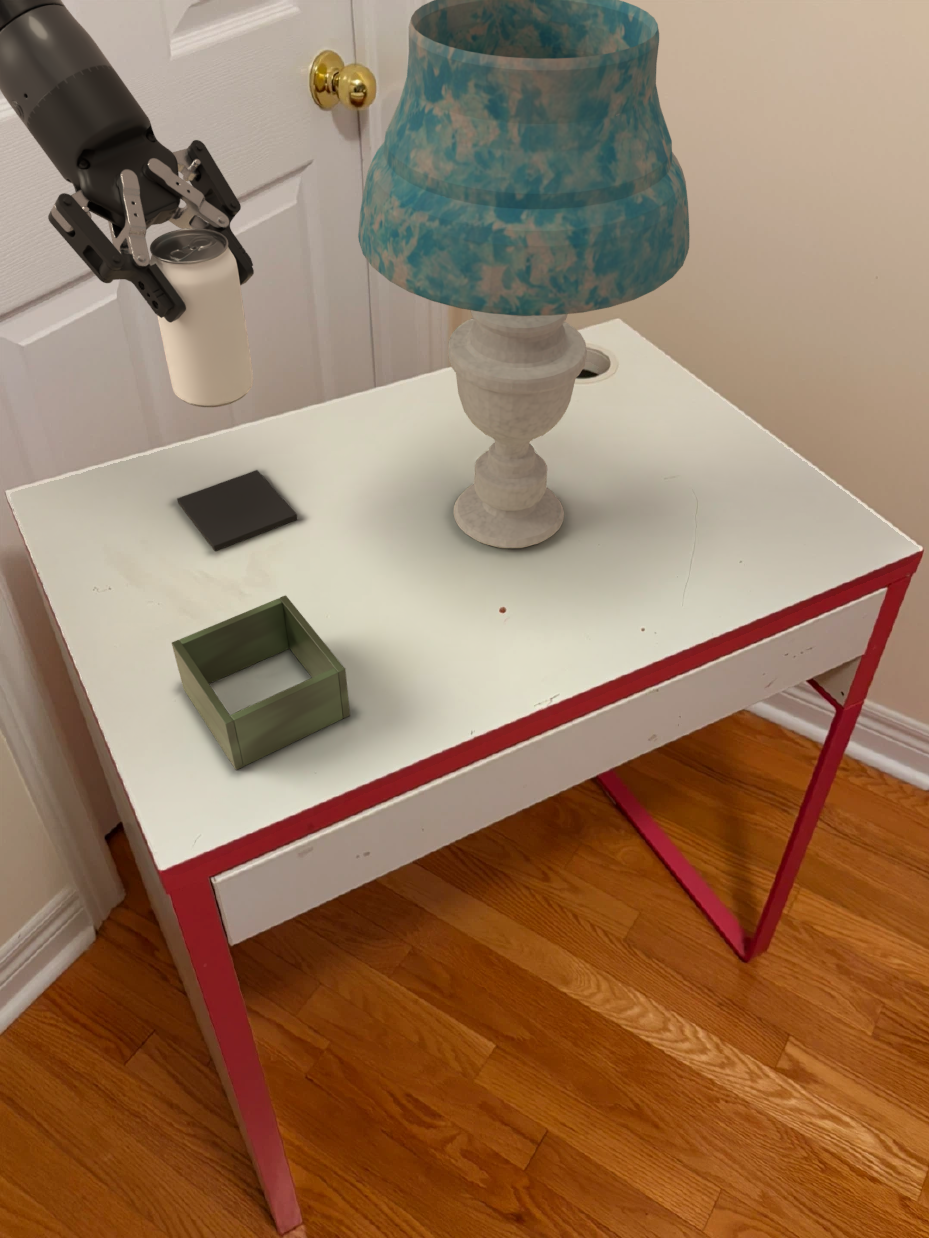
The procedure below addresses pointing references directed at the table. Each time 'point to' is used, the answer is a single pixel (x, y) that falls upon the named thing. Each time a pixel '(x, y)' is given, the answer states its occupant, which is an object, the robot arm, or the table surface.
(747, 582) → the table surface
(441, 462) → the table surface
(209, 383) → the can
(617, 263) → the table lamp
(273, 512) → the mat
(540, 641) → the table surface
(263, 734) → the caddy
